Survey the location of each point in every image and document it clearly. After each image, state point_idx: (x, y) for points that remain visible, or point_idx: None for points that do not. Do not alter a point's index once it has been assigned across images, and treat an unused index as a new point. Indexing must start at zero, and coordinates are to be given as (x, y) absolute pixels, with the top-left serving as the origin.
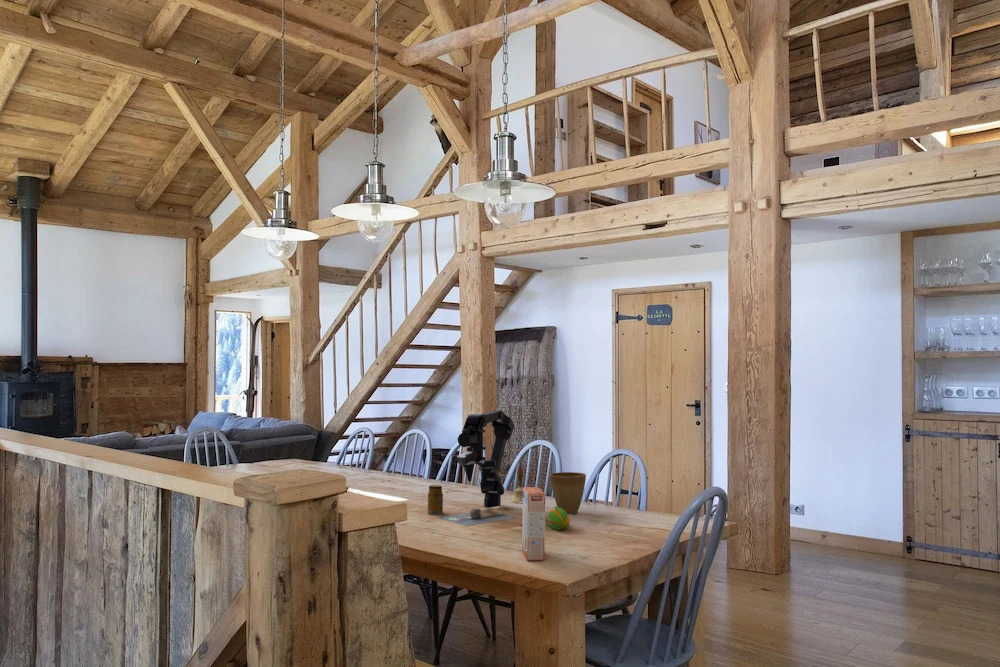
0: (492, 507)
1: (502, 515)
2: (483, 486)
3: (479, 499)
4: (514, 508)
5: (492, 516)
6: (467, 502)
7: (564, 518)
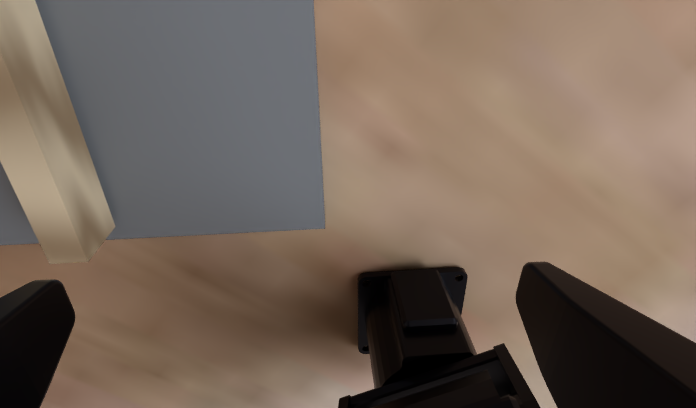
0: (27, 151)
1: None
2: (469, 396)
3: None
4: (326, 389)
5: None
6: (678, 296)
7: None
